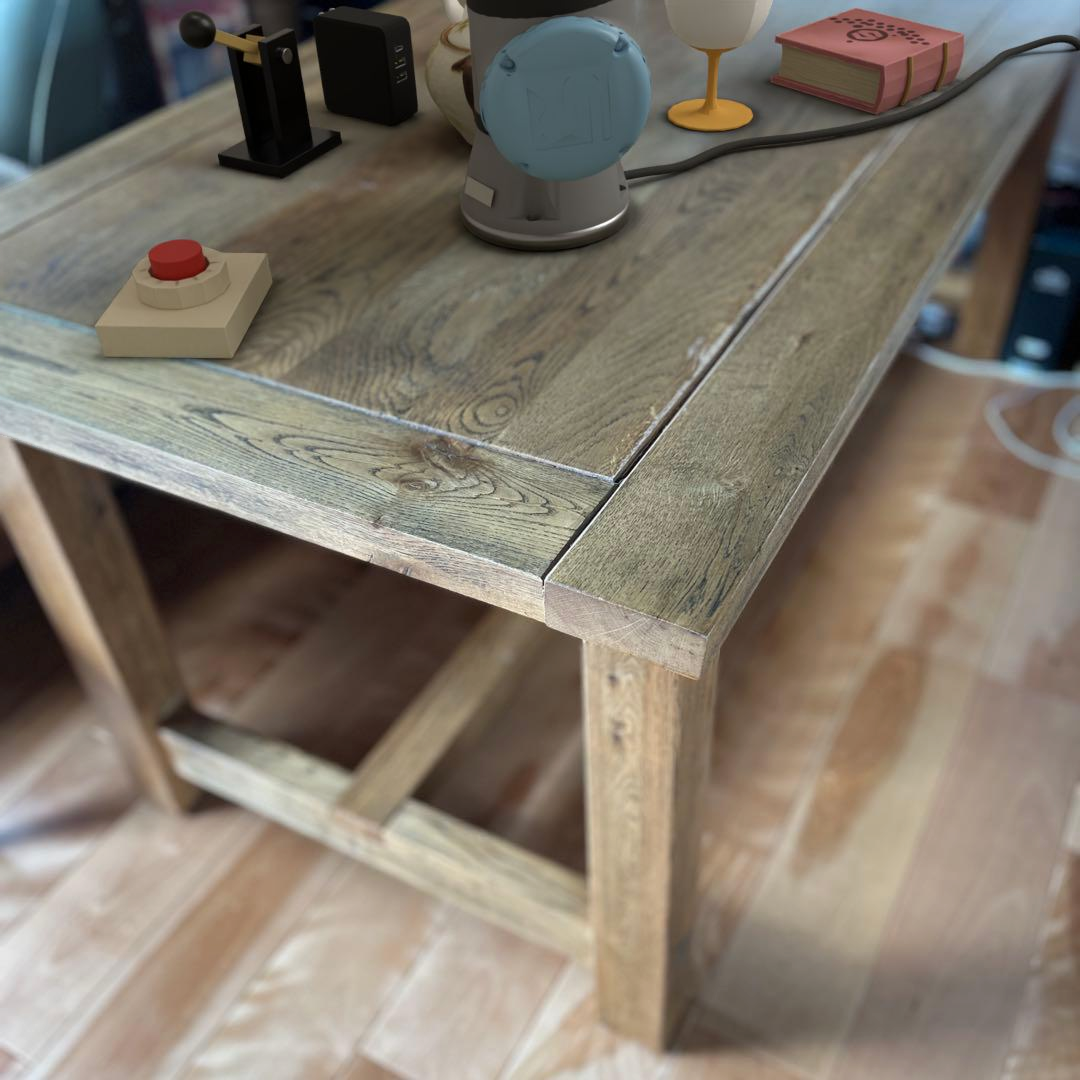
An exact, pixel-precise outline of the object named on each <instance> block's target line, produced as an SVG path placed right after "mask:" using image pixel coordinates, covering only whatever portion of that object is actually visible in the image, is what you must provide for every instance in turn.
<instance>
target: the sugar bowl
mask: <svg viewBox="0 0 1080 1080" xmlns="http://www.w3.org/2000/svg"><path fill="white" fill-rule="evenodd" d="M424 78H425V84H426V88H427V91H428V94H429V96H430V98H431V99H432V100H433V102H434V104H435V105H436V107H437V108H438V109H439V111H440V112H441V113H442V114H443V115H444V117H445V118H446V119H447V120H448V121H449V122H450V123H451V124H452V125H453V127H454V128H455V129H456V130H457V131H458V132H459V134H460V135H461V136H462V138H463V139H464V140H465V141H466V142H467V143H468V144H469V145H470V146H473V143H474V139H475V135H476V122H475V107H474V93H473V78H472V63H471V48H470V33H469V19H468V18H467V19H465V20H463V21H461V22H458V23H455V24H453V25H451V24H450V25H449V26H448V27H446V28H445V29H444V30H443V31H442V32H441V34H440V37H439V38H438V39H437V40H436V42H435V43H434V44H433V46H432V48H431V49H430V51H429V54H428V56H427V58H426V62H425V67H424Z"/></svg>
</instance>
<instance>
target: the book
mask: <svg viewBox="0 0 1080 1080" xmlns="http://www.w3.org/2000/svg"><path fill="white" fill-rule="evenodd" d="M774 36H775V37H774V43H775V44H779V45H781V51H782V52H781V53H782V54H781V60H780V68H779V71H778V73H777V72H776V73H775V74H772V75H771V76H770V83H773V84H775V85H778V86H782V87H784V88H788V89H792V90H794V91H797V92H802V93H805V94H808V95H812V96H815V97H818V98H821V99H824V100H827V101H831V102H834V103H836V104H841V105H843V106H847V107H850V108H853V109H857V110H859V111H863V112H866V113H870V114H874V115H879V114H881V113H884V112H886V111H888V110H891V109H893V108H895V107H897V106H902V107H903V106H905V104H906V102H910V101H911V100H914V99H916V98H918V97H920V96H923V95H926V94H928V93H931V92H932V91H940V89H941V88H942V87H944V86H946V85H949V84H951V83H953V82H955V80H956V78H957V76H958V75H959V72H960V70H961V67H962V63H963V59H964V55H965V33H962V32H959V31H954V30H950V29H946V28H942V27H938V26H933V25H930V24H925V23H921V22H917V21H913V20H910V19H906V18H905V19H904V18H900V17H896V16H892V15H887V14H884V13H881V12H880V13H879V12H876V11H873V10H867V9H863V8H859V7H853V8H851V9H848V10H844V11H842V12H839V13H836V14H833V15H830V16H827V17H825V18H822V19H819V20H816V21H813V22H810V23H807V24H805V25H802V26H799V27H796V28H794V29H790V30H788V31H784V32H781V33H778V34H776V35H774Z"/></svg>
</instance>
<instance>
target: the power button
mask: <svg viewBox="0 0 1080 1080" xmlns="http://www.w3.org/2000/svg"><path fill="white" fill-rule="evenodd" d="M202 247H203V246H202V245H201V244H200V242H198V241H196V240H194V239H188V238H178V239H177V238H176V239H170V240H166V241H163V242H160V243H158V244H156V245H155V246H153V247H152V248H150V249H149V251H148V252H147V254H148V257H149V261H150V264H151V268H152V271H153V275H154V277H155V278H156V279H158V280H161V281H178V280H183V279H187V278H191V277H194V276H196V275H198V274H200V273H202V272H204V271H205V270H206V263H205V259H204V255H203V251H202Z"/></svg>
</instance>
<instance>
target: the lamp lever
mask: <svg viewBox="0 0 1080 1080" xmlns="http://www.w3.org/2000/svg"><path fill="white" fill-rule="evenodd" d="M178 33H179V36H180V38H181V40H182V41H183V42H184V43H185V44H186V45H187V46H188V47H190V48H192V49H196V50H203V49H204V50H205V49H206V48H207V49H208V48H209V47H210V46H211V45H213V43H216V44H218V45H221V46H224V47H226V46H227V47H230V48H233V49H236V50H239V51H242V52H244V59H243V61H245V62H248V63H251V64H254V65H257V66H260V67H262V63H261V58H260V53H259V47H258V41H260V40H262V39H264V38H266V37H265V36H264V37H260V36H253V35H246V40H245V39H242V38H239V37H237V36H234V35H231V33H228V32H225V31H224V30H223V31H222V30H219V29H217V27H216V24H215V21H214V20H213V18H212V17H211V16H210V15H209V14H208V13H207V12H205V11H203V10H200V9H191V10H188V11H186V12H185V13H183V14H182V16H181V17H180V19H179V21H178ZM227 47H226V48H227Z"/></svg>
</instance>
